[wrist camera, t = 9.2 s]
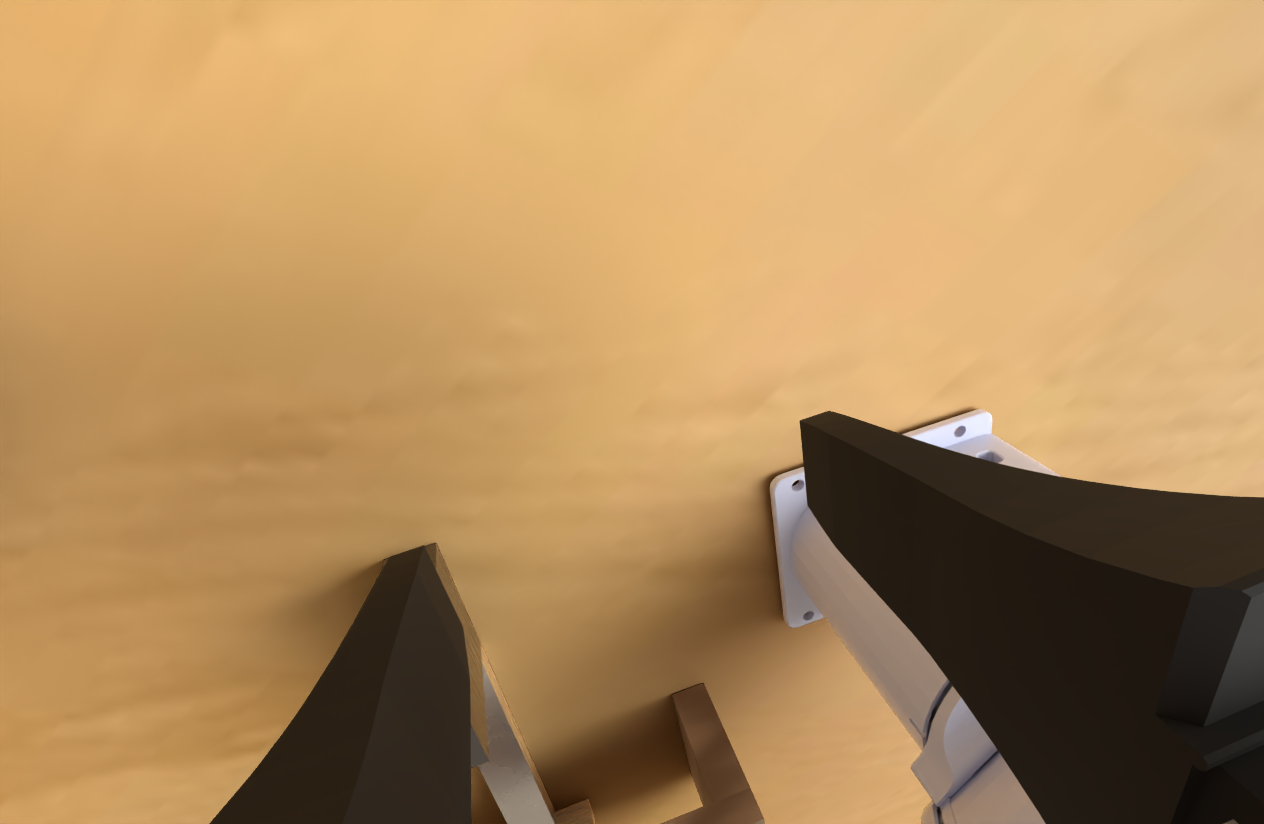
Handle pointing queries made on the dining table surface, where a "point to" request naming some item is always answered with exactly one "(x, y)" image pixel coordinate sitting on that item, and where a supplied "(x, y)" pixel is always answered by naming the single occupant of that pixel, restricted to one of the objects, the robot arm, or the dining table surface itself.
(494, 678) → the blade tool
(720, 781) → the walnut shelf
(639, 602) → the dining table surface
